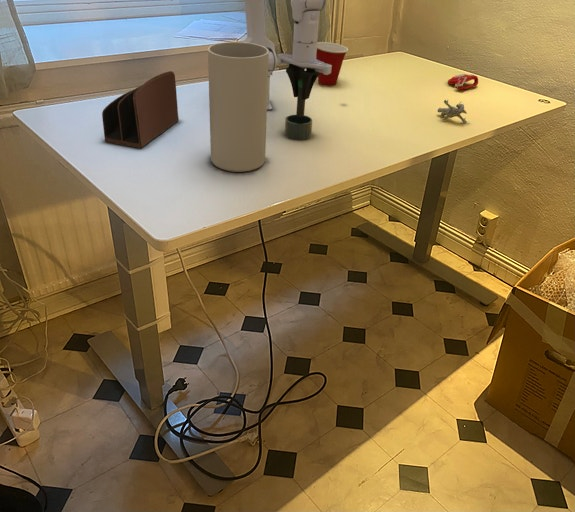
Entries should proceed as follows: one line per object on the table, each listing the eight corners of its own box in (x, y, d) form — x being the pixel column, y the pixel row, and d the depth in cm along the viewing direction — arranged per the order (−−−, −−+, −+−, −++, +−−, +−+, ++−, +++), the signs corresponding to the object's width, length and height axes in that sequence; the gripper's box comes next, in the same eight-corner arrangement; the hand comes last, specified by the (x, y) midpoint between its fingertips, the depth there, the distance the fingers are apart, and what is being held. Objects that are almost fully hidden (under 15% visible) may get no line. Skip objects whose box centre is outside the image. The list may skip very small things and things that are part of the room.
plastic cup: (345, 89, 176) (350, 50, 169) (311, 87, 175) (314, 48, 169) (343, 79, 185) (347, 42, 178) (311, 77, 184) (313, 40, 178)
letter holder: (179, 121, 147) (176, 67, 139) (141, 149, 131) (135, 90, 123) (145, 115, 149) (140, 61, 141) (104, 142, 133) (96, 83, 125)
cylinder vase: (237, 145, 135) (237, 39, 121) (276, 161, 129) (281, 51, 115) (199, 160, 127) (195, 48, 113) (238, 178, 121) (239, 61, 107)
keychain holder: (442, 77, 188) (470, 70, 188) (443, 90, 190) (471, 83, 190) (456, 79, 177) (486, 72, 177) (458, 93, 179) (487, 86, 179)
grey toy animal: (456, 114, 163) (477, 114, 154) (445, 131, 162) (466, 131, 154) (435, 92, 158) (455, 91, 150) (423, 110, 158) (443, 109, 150)
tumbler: (287, 140, 140) (288, 124, 137) (282, 130, 145) (283, 114, 143) (313, 139, 141) (314, 124, 139) (308, 129, 146) (309, 114, 144)
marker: (296, 117, 140) (299, 81, 134) (295, 114, 141) (297, 78, 136) (305, 117, 140) (307, 81, 135) (303, 114, 142) (306, 78, 137)
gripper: (340, 43, 130) (334, 100, 137) (289, 32, 136) (286, 87, 144) (324, 48, 125) (319, 107, 133) (272, 37, 131) (270, 93, 139)
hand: (301, 97), depth 138 cm, fingers closed on marker, 2 cm apart
